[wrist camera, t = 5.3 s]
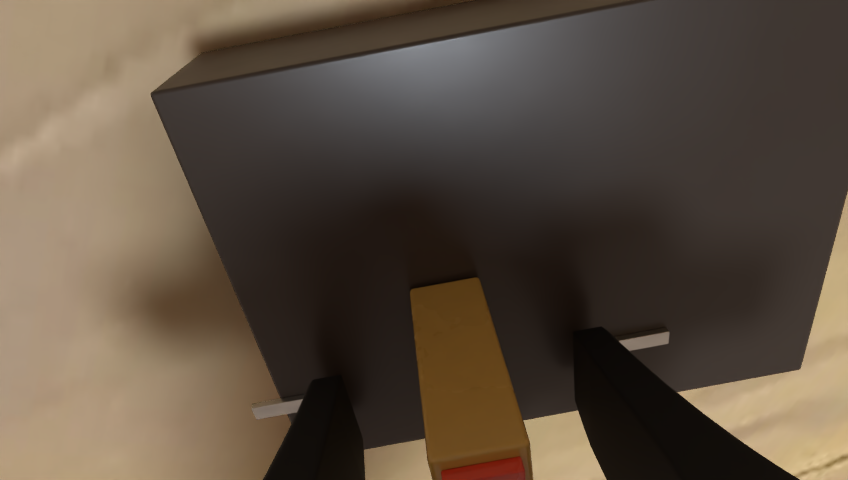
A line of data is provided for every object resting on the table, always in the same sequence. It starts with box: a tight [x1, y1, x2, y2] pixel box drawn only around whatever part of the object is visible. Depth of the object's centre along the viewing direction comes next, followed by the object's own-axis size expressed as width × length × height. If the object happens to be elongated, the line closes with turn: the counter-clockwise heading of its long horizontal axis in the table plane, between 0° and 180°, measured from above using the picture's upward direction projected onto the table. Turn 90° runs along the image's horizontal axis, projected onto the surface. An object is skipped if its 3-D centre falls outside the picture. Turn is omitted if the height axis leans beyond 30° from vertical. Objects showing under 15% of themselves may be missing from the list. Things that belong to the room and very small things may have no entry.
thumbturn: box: [410, 277, 533, 480], centre depth 10 cm, size 5×1×4 cm, turn 9°
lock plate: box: [151, 0, 848, 450], centre depth 12 cm, size 13×9×3 cm
